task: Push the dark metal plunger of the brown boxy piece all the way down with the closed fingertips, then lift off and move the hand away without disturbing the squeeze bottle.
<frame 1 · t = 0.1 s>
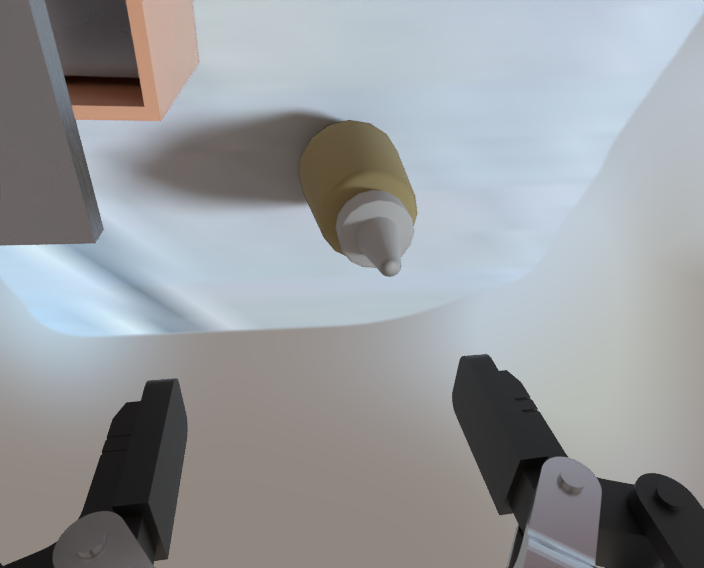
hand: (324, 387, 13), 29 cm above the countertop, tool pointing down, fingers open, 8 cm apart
squeeze bottle: (342, 156, 40), on the countertop
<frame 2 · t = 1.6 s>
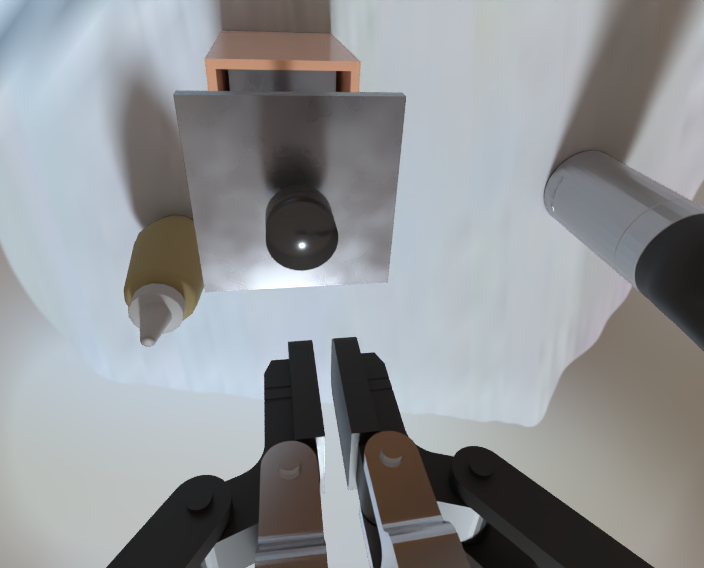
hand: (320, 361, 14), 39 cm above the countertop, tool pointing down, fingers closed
squeeze bottle: (179, 237, 54), on the countertop
plunger: (291, 163, 29), point 21 cm above the countertop, slide at 10.0 cm
brown boxy piece: (279, 89, 46), on the countertop
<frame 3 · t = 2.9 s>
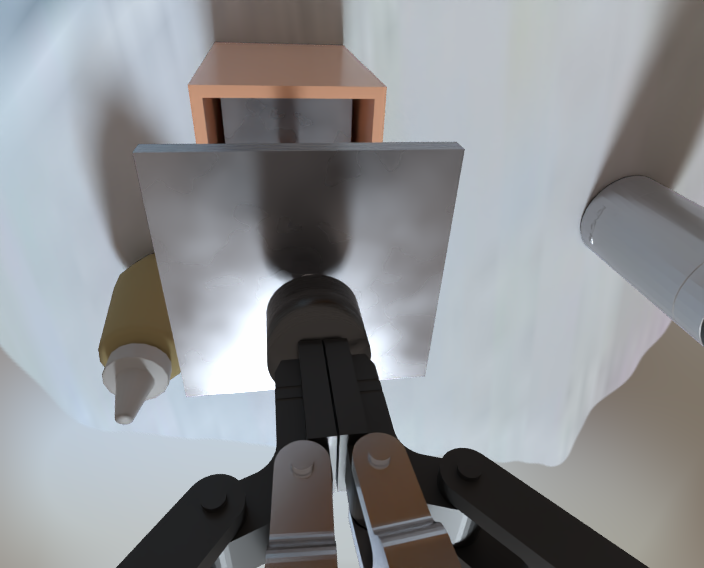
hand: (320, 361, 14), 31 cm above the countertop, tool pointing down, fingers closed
squeeze bottle: (167, 275, 47), on the countertop
plunger: (298, 218, 22), point 21 cm above the countertop, slide at 9.7 cm, touching gripper
brown boxy piece: (282, 109, 40), on the countertop
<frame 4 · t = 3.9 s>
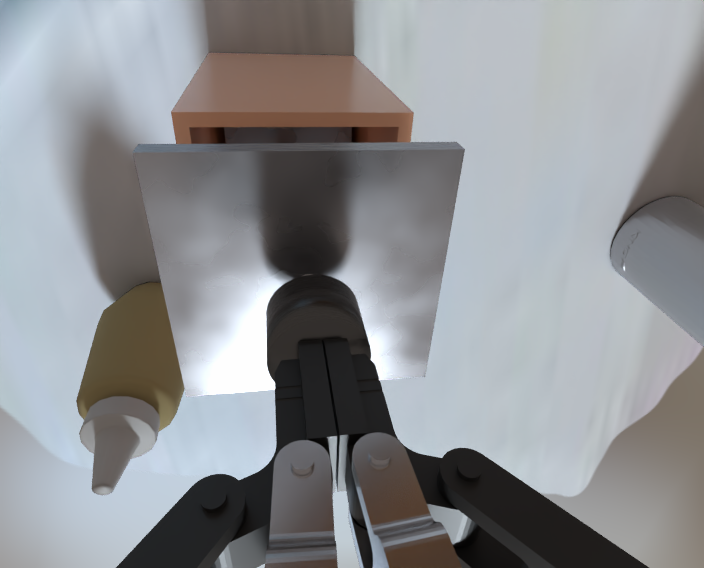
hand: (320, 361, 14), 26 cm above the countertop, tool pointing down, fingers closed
squeeze bottle: (158, 306, 43), on the countertop
plunger: (299, 218, 22), point 16 cm above the countertop, slide at 4.4 cm, touching gripper
brown boxy piece: (285, 127, 35), on the countertop
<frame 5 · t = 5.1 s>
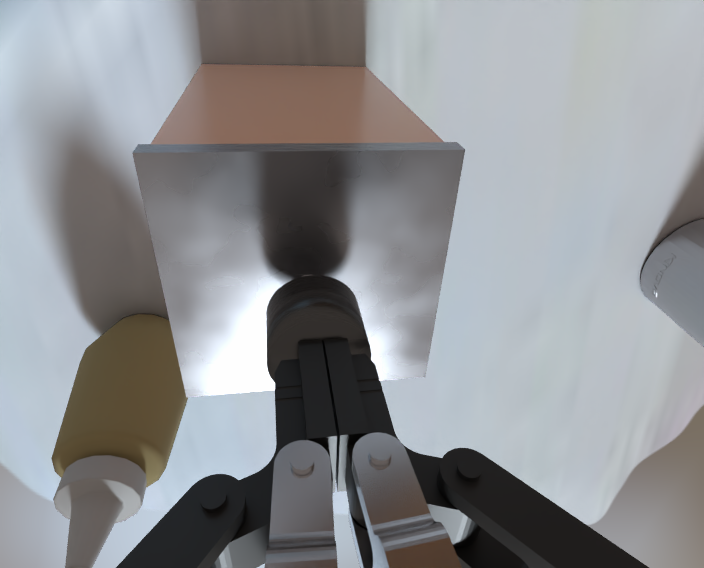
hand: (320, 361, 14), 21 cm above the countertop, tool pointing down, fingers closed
squeeze bottle: (148, 339, 39), on the countertop
plunger: (299, 219, 22), point 11 cm above the countertop, slide at -0.1 cm, touching gripper
brown boxy piece: (288, 146, 32), on the countertop
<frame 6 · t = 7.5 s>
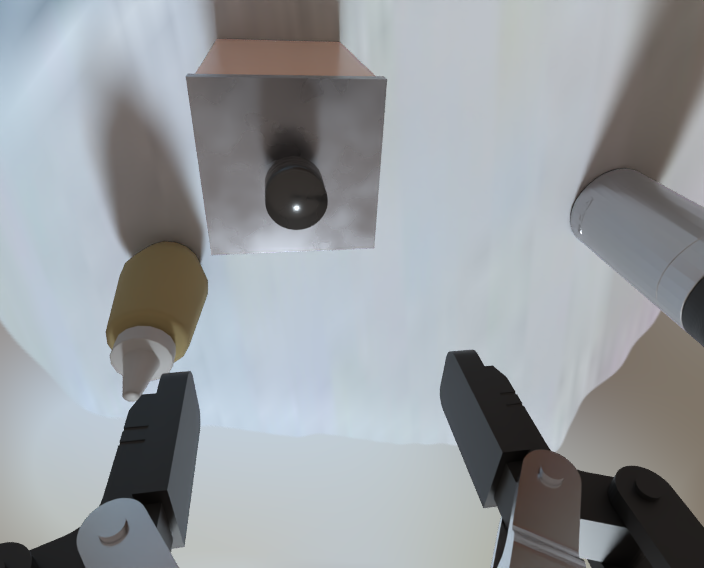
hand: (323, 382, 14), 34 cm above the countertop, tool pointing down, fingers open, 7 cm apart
squeeze bottle: (171, 264, 49), on the countertop
plunger: (287, 142, 32), point 11 cm above the countertop, slide at -0.1 cm
brown boxy piece: (282, 103, 41), on the countertop
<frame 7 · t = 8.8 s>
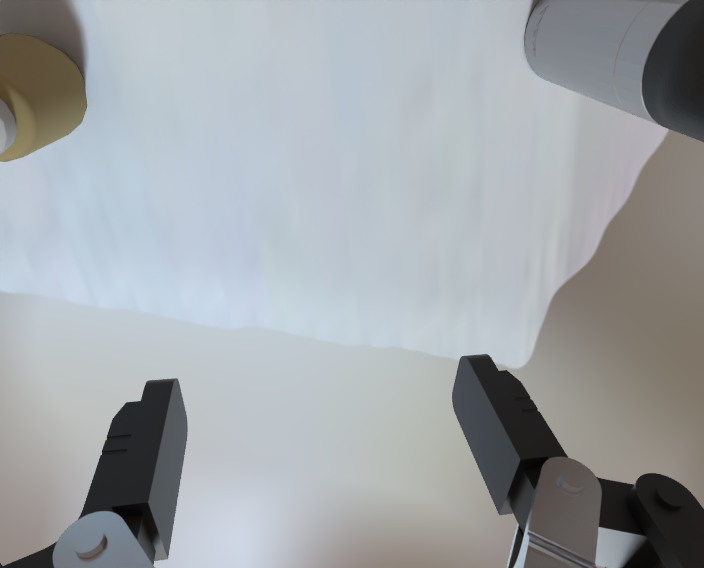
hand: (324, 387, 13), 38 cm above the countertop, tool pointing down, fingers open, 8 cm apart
squeeze bottle: (49, 79, 41), on the countertop
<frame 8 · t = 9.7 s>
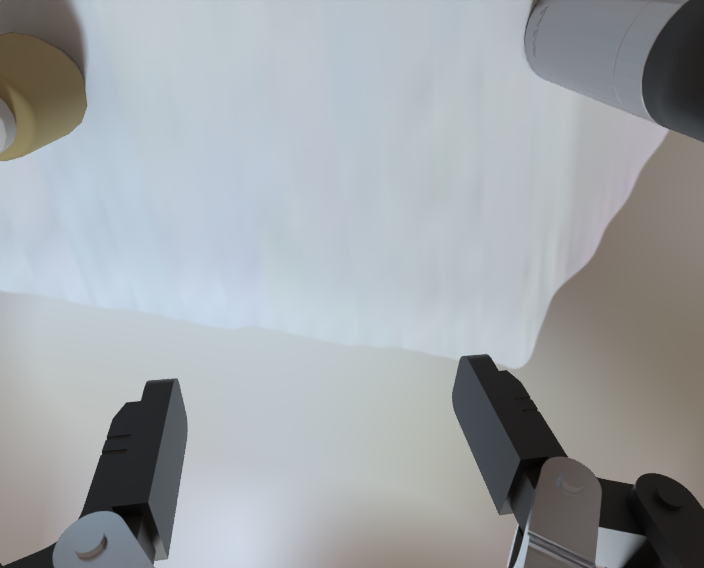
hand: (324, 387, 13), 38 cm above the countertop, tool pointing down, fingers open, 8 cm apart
squeeze bottle: (49, 79, 41), on the countertop
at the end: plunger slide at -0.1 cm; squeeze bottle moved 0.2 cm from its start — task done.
